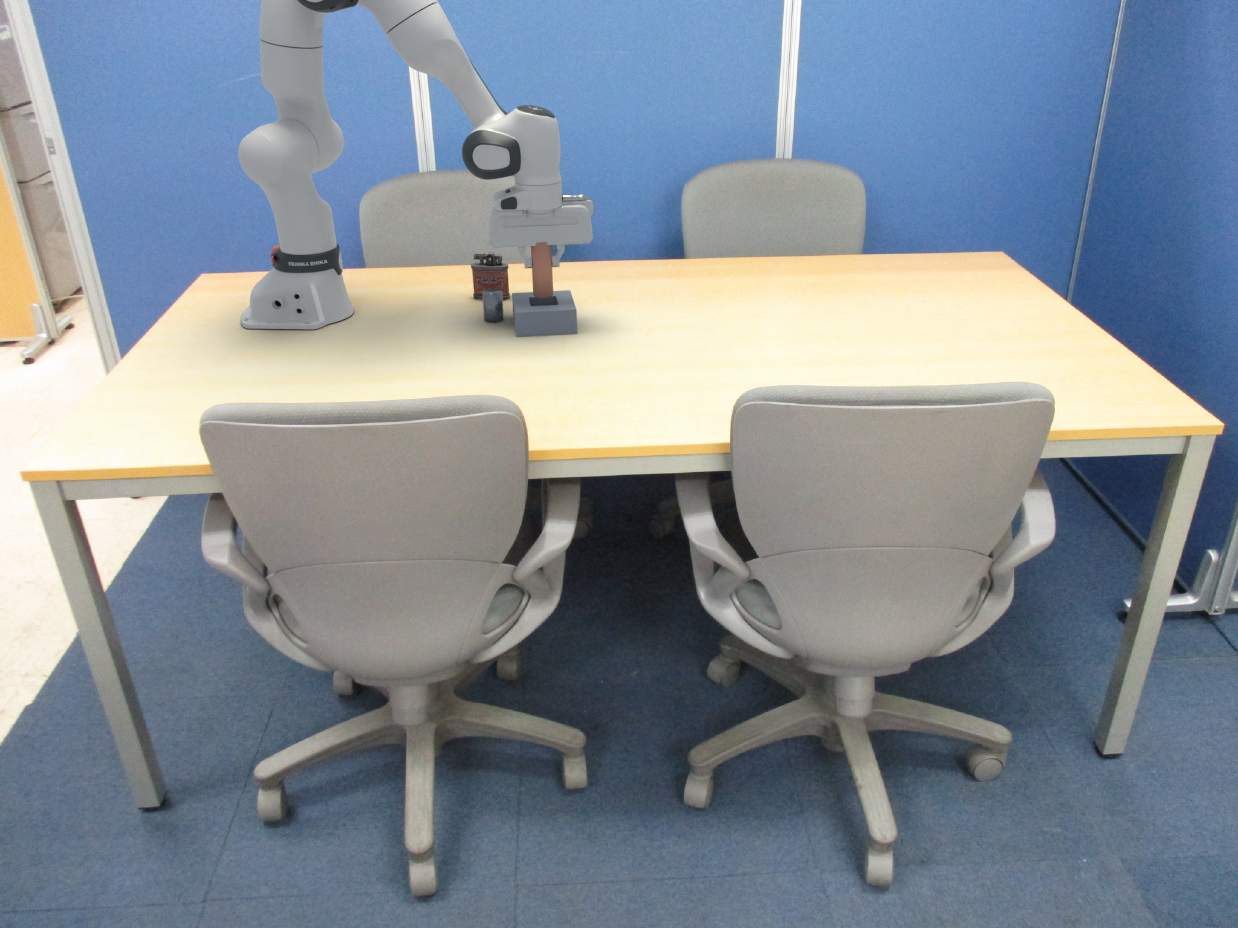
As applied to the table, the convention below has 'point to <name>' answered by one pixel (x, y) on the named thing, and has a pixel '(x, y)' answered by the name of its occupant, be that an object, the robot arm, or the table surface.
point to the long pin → (542, 270)
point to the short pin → (493, 305)
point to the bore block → (544, 314)
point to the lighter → (489, 275)
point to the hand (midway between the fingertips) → (541, 267)
